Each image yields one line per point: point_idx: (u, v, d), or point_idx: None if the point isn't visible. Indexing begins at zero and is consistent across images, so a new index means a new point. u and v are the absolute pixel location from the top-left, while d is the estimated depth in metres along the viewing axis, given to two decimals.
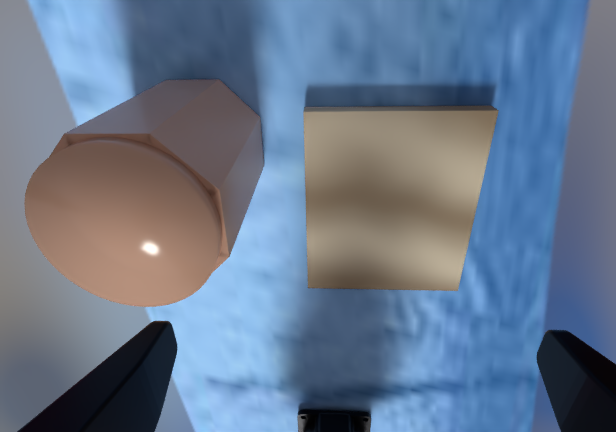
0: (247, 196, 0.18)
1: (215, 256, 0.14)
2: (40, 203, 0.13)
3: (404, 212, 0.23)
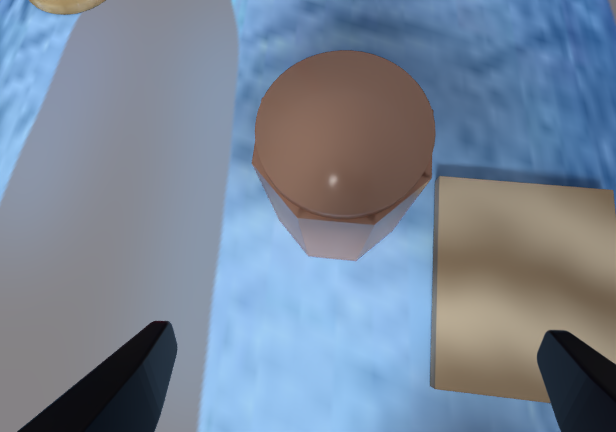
0: None
1: (430, 154, 0.14)
2: (281, 92, 0.15)
3: (544, 286, 0.21)
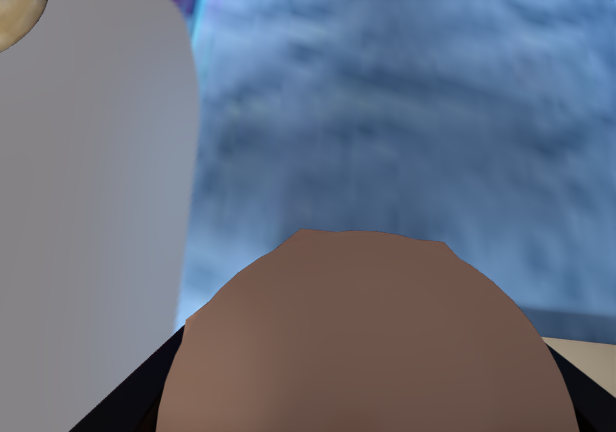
0: None
1: None
2: (219, 334, 0.07)
3: None
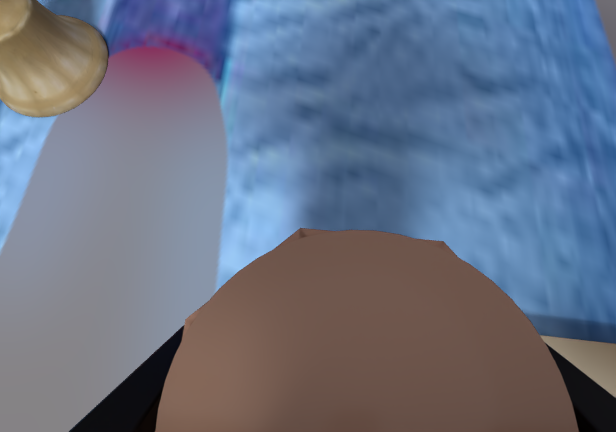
0: None
1: None
2: (219, 334, 0.07)
3: None
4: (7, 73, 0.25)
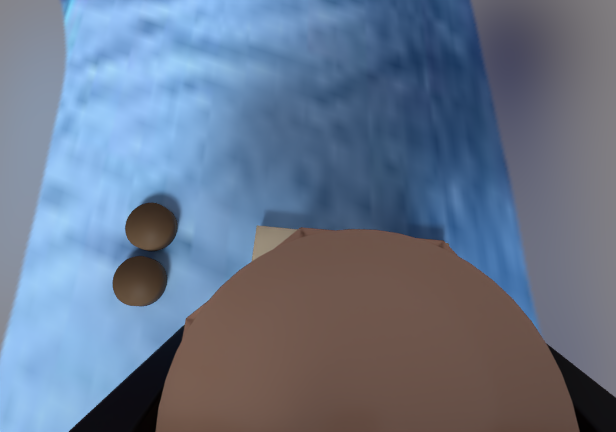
0: None
1: None
2: (220, 332, 0.07)
3: None
4: None
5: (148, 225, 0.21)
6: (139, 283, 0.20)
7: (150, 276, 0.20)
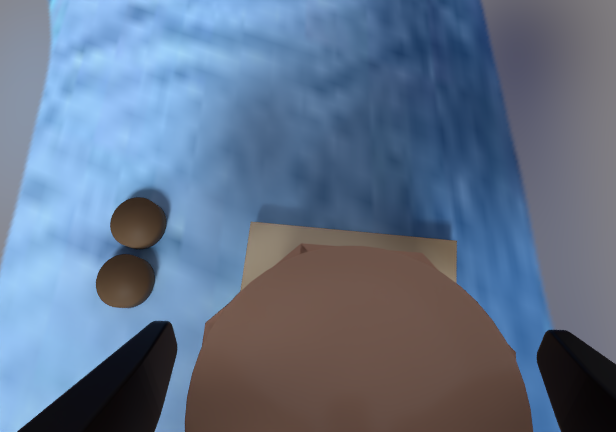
0: None
1: None
2: (236, 334, 0.08)
3: None
4: None
5: (135, 221, 0.20)
6: (124, 283, 0.19)
7: (136, 276, 0.19)
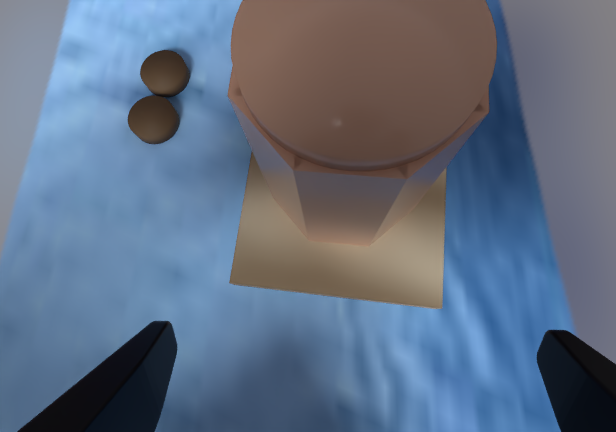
0: None
1: (491, 73, 0.09)
2: None
3: None
4: None
5: (162, 69, 0.22)
6: (153, 118, 0.21)
7: (164, 112, 0.21)
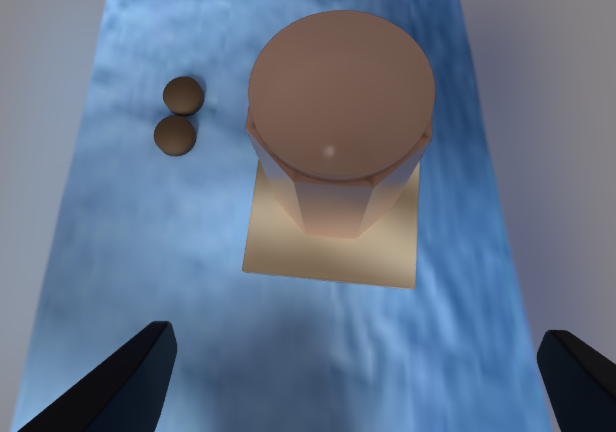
0: None
1: (430, 113, 0.14)
2: (274, 53, 0.15)
3: None
4: None
5: (181, 93, 0.26)
6: (175, 135, 0.25)
7: (184, 129, 0.25)
